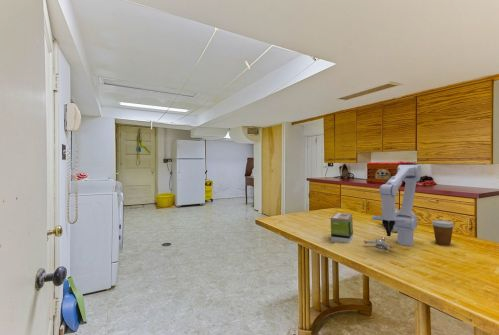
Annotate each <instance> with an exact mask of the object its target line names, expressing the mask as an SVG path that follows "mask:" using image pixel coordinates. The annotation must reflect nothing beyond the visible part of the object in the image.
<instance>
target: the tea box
mask: <svg viewBox="0 0 499 335" xmlns="http://www.w3.org/2000/svg"><path fill="white" fill-rule="evenodd" d="M330 233H331V234H330V240H331V241H330V242H331V243H332V244H335V243H336V242H337V243H346V244H350V242H352V240H353V237H354V228H353V213H344V212H343V213H342V212H335V213H334V214H333V215H332V216H331V217H330Z"/></svg>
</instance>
